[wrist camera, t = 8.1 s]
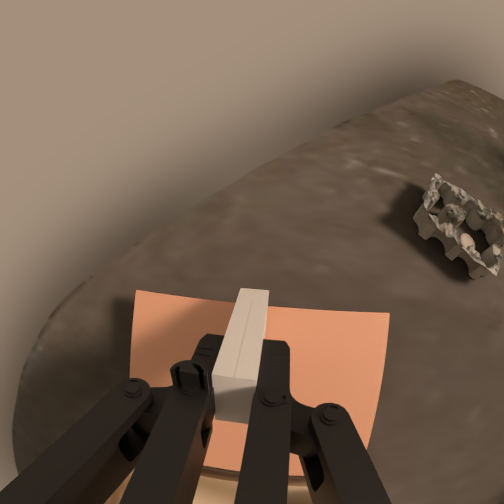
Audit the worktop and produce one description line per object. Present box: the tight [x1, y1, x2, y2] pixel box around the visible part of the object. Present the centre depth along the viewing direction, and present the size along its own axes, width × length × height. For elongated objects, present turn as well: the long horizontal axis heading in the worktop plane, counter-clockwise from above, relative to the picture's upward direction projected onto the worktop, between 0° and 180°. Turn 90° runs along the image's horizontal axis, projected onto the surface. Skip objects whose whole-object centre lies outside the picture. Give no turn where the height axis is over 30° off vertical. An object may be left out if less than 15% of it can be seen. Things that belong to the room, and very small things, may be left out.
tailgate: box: [130, 290, 390, 476], centre depth 15 cm, size 1×16×12 cm
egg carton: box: [413, 173, 504, 280], centre depth 20 cm, size 11×8×4 cm
